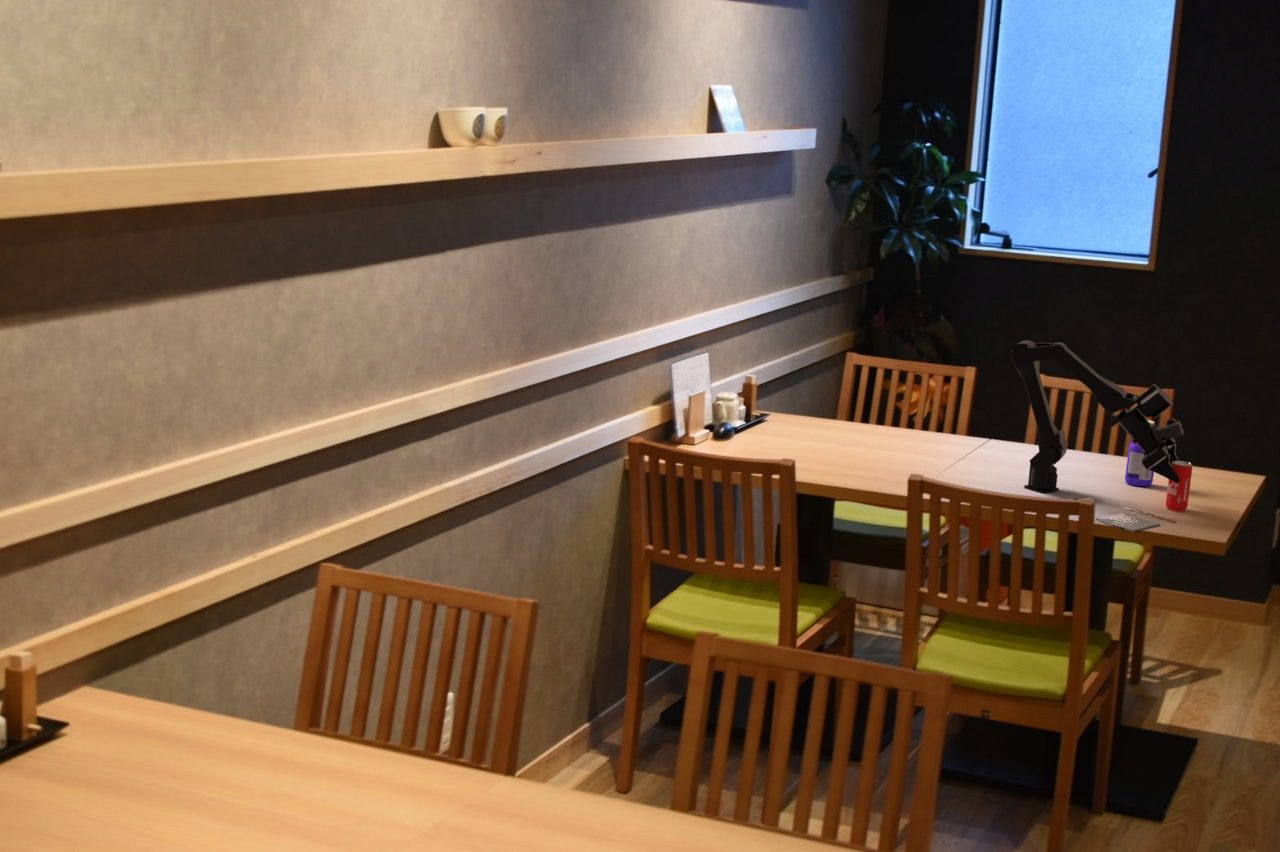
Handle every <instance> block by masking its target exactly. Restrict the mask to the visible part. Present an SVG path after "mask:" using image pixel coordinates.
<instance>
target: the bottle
mask: <svg viewBox="0 0 1280 852" xmlns="http://www.w3.org/2000/svg"><path fill="white" fill-rule="evenodd" d="M1147 420H1148V421H1149V423H1150V424H1151V425H1152V424H1153V425H1154V424H1155V421H1154V420H1150V419H1147ZM1143 453H1144V452H1143V451H1142V449H1141V448H1140V447H1139V446H1138V445H1137V443H1135V444H1134V443H1133V442H1132V441H1131V442H1130V444H1129V446H1128V453H1127V459H1126V467H1125V468H1126V469H1125V476H1124V479H1125V483H1126V484H1127V485H1129V486H1135V485H1136V487H1142V486H1145V488H1148V487H1150V486H1151V485H1152V483H1153V481H1154V475H1155V472H1153V471H1150V470H1149V468H1148V469H1146V468H1145V467H1144V466H1143V465H1142V459H1143V457H1144V455H1143ZM1151 467H1152V466H1151Z"/></svg>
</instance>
